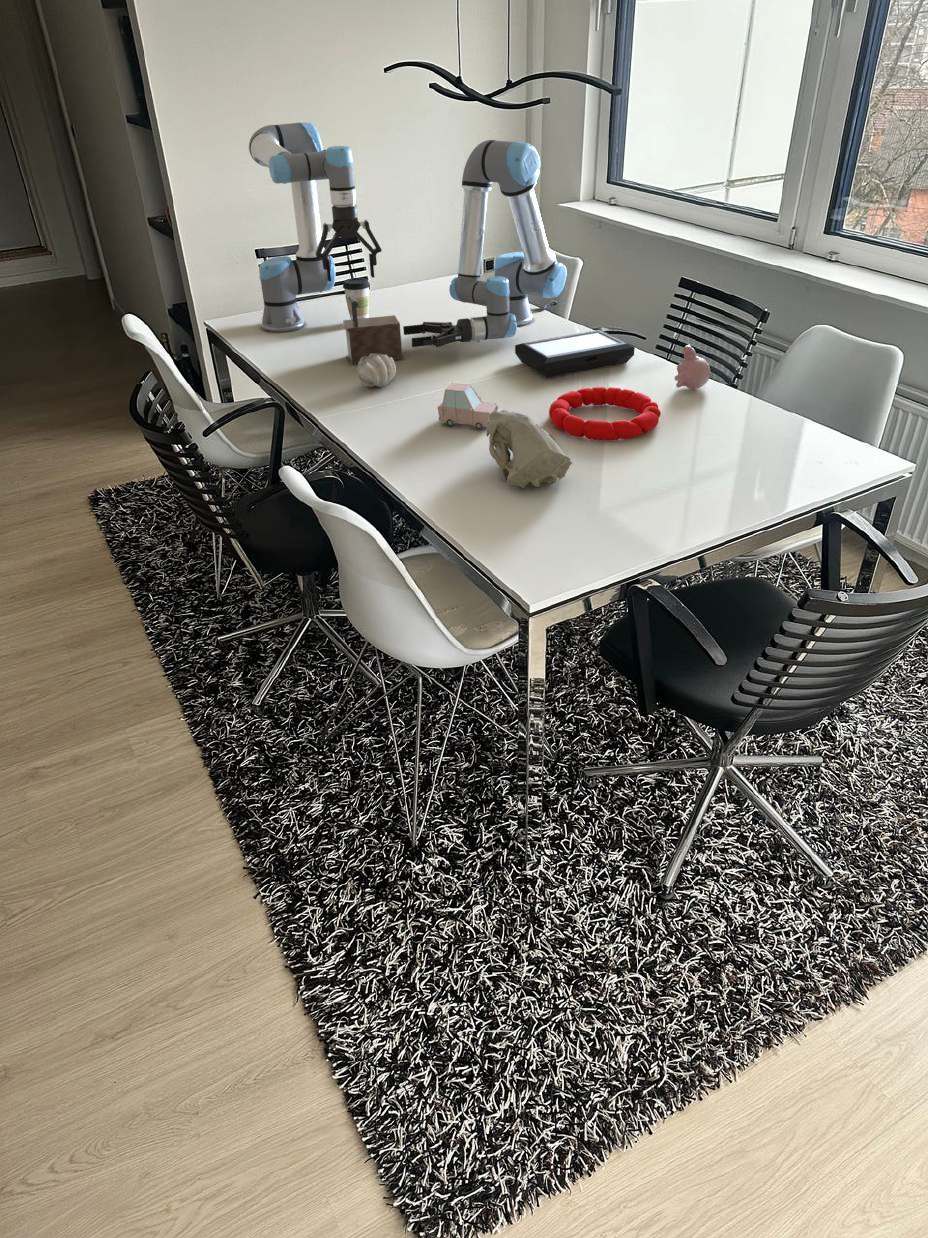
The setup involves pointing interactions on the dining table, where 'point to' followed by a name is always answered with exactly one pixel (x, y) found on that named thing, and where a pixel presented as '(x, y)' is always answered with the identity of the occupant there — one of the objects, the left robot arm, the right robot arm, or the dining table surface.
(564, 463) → the animal skull
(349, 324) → the panel with cylinder handle
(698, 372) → the figurine
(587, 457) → the dining table surface
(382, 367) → the seashell
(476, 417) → the toy car
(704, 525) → the dining table surface
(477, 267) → the right robot arm
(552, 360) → the electronic device
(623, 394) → the decorative ring
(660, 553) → the dining table surface
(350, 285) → the coffee cup
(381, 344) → the chest
